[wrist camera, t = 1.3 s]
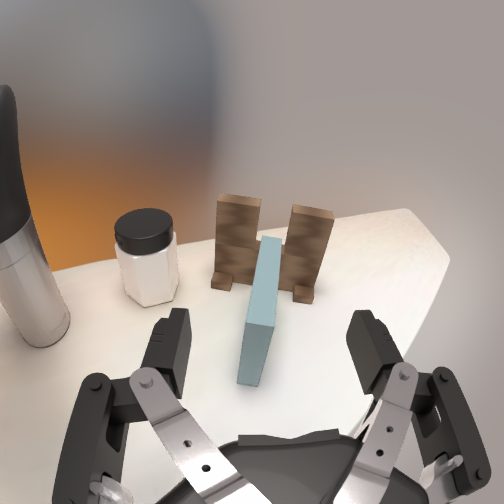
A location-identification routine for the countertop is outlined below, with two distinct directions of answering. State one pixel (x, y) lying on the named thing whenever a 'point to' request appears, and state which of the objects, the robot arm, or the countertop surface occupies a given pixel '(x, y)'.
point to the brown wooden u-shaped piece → (247, 247)
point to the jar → (147, 255)
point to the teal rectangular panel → (260, 312)
